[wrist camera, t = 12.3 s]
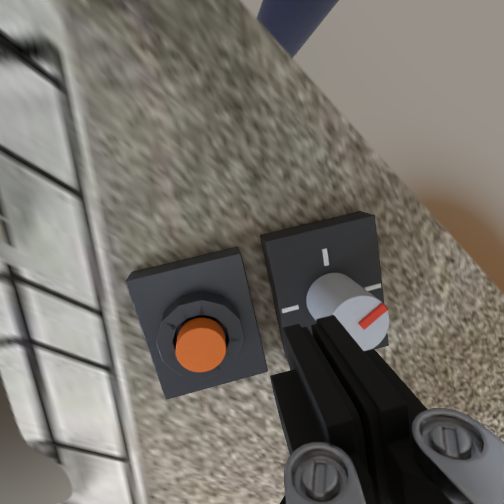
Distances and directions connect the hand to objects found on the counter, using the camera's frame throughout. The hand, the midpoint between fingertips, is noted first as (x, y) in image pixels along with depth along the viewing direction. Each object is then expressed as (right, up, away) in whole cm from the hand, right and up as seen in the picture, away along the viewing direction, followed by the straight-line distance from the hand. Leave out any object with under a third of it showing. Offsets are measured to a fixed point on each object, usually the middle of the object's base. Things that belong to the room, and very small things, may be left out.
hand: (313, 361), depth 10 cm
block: (-6, -2, +18) cm, 19 cm away
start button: (-6, -3, +15) cm, 16 cm away
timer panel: (+4, 0, +19) cm, 20 cm away
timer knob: (+5, 0, +17) cm, 17 cm away
